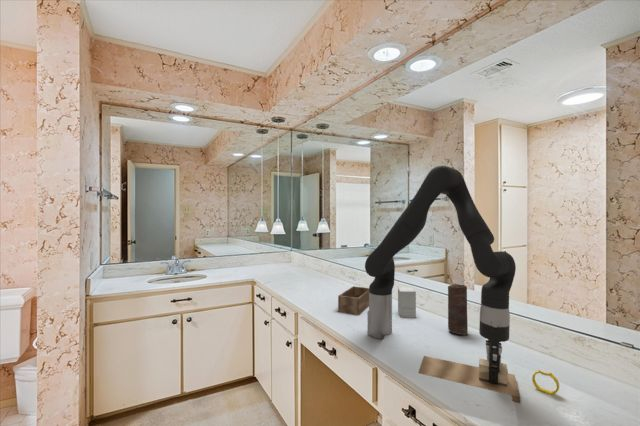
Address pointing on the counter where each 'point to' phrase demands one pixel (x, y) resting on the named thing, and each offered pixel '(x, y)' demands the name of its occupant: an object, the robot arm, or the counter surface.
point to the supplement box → (407, 302)
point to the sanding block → (485, 372)
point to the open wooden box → (353, 300)
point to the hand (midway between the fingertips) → (492, 378)
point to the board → (466, 375)
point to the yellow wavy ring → (547, 373)
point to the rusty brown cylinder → (457, 309)
